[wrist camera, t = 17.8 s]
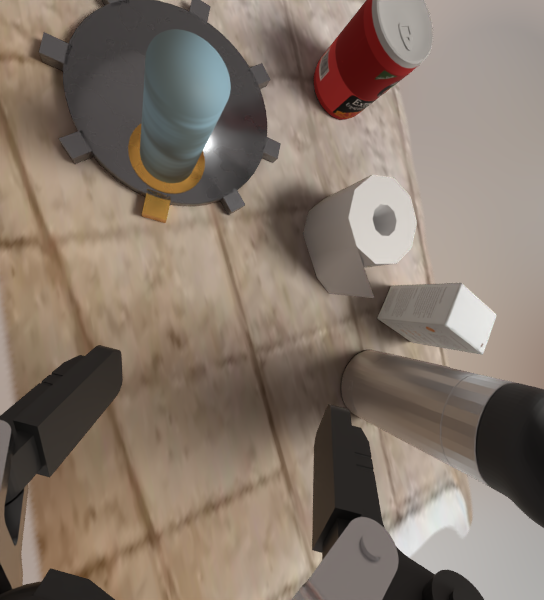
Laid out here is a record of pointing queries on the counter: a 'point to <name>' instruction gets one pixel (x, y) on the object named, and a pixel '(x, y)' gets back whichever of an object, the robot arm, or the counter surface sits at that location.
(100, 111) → the sprocket plate
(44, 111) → the counter surface
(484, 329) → the small box
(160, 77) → the pin
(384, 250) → the toilet tissue
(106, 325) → the counter surface
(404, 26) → the canned food
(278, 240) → the counter surface
